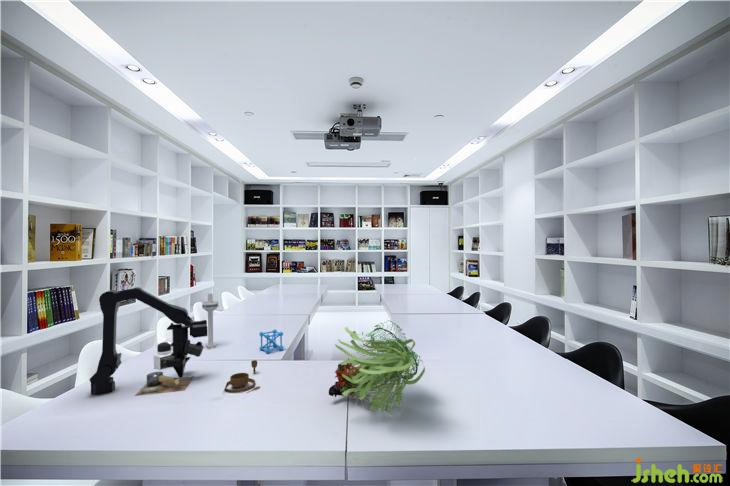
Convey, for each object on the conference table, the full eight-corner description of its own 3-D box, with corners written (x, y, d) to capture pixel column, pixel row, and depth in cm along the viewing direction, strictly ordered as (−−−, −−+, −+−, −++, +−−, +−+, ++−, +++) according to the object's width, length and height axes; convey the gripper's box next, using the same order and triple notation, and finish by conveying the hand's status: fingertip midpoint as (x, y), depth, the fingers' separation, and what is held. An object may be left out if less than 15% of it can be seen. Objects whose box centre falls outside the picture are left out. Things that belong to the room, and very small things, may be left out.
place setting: (212, 388, 139) (212, 373, 139) (254, 372, 155) (254, 359, 155) (240, 398, 129) (240, 382, 129) (281, 380, 145) (281, 366, 145)
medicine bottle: (160, 372, 156) (160, 346, 156) (153, 369, 160) (153, 343, 160) (176, 368, 161) (176, 342, 161) (169, 365, 166) (169, 340, 166)
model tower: (216, 344, 200) (215, 292, 200) (221, 347, 194) (220, 293, 194) (200, 347, 195) (200, 293, 195) (205, 350, 188) (204, 295, 188)
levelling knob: (143, 384, 138) (143, 375, 138) (157, 379, 143) (157, 370, 143) (170, 390, 131) (170, 381, 131) (183, 385, 136) (183, 376, 136)
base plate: (134, 399, 128) (134, 391, 128) (149, 384, 142) (149, 376, 143) (184, 394, 132) (184, 386, 132) (194, 379, 147) (194, 372, 147)
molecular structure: (276, 346, 194) (275, 328, 194) (284, 350, 186) (283, 331, 186) (258, 350, 187) (258, 331, 188) (266, 354, 180) (266, 335, 180)
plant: (377, 354, 151) (450, 324, 126) (368, 444, 127) (455, 428, 102) (311, 321, 136) (378, 280, 112) (287, 415, 113) (366, 389, 88)
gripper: (196, 343, 136) (196, 383, 136) (206, 332, 154) (206, 367, 154) (164, 346, 133) (165, 386, 133) (178, 334, 151) (179, 370, 151)
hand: (181, 377), depth 143 cm, fingers closed
